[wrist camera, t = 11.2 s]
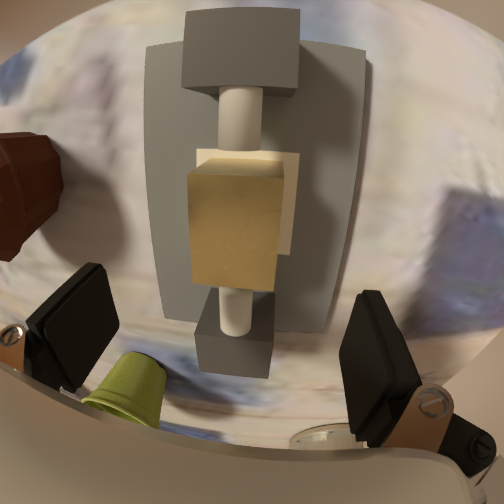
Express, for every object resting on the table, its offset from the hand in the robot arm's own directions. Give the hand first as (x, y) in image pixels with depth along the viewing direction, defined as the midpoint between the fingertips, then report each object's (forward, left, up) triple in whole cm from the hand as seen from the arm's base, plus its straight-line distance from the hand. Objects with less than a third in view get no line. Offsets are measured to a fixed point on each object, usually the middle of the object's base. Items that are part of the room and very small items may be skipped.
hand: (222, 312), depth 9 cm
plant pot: (+5, +23, -11) cm, 26 cm away
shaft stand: (+1, -1, -11) cm, 11 cm away
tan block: (+1, -1, -10) cm, 10 cm away
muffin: (+21, +4, -11) cm, 24 cm away
